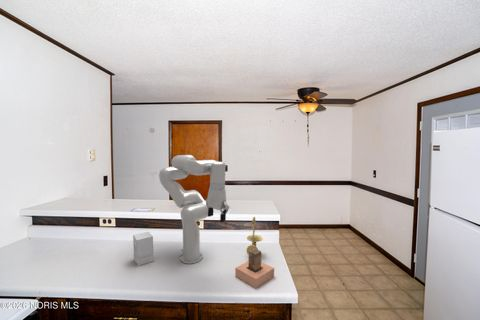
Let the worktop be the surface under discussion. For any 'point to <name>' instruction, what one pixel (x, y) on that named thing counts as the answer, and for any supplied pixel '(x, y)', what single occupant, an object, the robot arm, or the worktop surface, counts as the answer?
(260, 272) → the well block
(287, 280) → the worktop surface
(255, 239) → the wall sconce
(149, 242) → the supplement box
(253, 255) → the walnut post
